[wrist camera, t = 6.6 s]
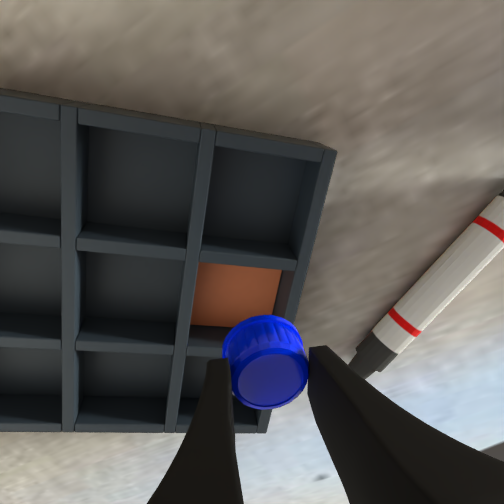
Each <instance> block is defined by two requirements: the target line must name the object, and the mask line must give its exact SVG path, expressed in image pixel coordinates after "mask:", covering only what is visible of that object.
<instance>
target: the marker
mask: <svg viewBox="0 0 504 504" xmlns="http://www.w3.org/2000/svg"><path fill="white" fill-rule="evenodd" d="M503 248H504V190H503V191H502V192H501V193H500V194H499V195H498V196H496V197H495V198H494V199H493V200H492V201H491V203H490V204H489V205H488V206H487V207H486V208H485V209H484V210H483V211H482V212H481V213H480V214H479V215H478V216H477V218H476V219H475V220H474V221H473V222H472V223H471V224H470V225H469V226H468V227H467V228H466V229H465V230H464V231H463V233H462V234H461V235H460V236H459V237H458V238H457V239H456V240H455V241H454V242H453V243H452V244H451V245H450V246H449V248H448V249H447V250H446V251H445V252H444V253H443V254H442V255H441V256H440V257H439V258H438V259H437V260H436V261H435V263H434V264H433V265H432V266H431V267H430V268H429V269H428V270H427V271H426V272H425V273H424V274H423V275H422V276H421V278H420V279H419V280H418V281H417V282H416V283H415V284H414V285H413V286H412V287H411V288H410V289H409V290H408V291H407V293H406V294H405V295H404V296H403V297H402V298H401V299H400V300H399V301H398V302H397V303H396V304H395V305H394V306H393V307H392V309H391V310H390V311H389V312H388V313H387V314H386V315H385V316H384V317H383V318H382V319H381V320H380V321H379V322H378V324H377V325H376V326H375V327H374V328H373V329H372V331H371V332H370V333H369V334H368V335H367V336H366V338H365V339H364V340H363V341H362V342H361V343H360V344H359V345H358V346H357V347H356V351H357V354H356V355H355V356H354V358H353V359H352V360H351V362H350V363H349V364H348V365H349V366H350V367H351V368H352V369H353V370H354V371H355V372H356V373H358V374H359V375H360V376H361V377H362V378H363V379H366V378H367V377H369V376H370V375H371V374H372V373H374V372H375V371H378V372H381V371H382V370H383V369H384V368H385V367H386V366H387V365H388V364H389V363H390V362H391V361H392V360H393V359H394V358H395V357H396V356H397V355H398V354H400V353H401V352H402V351H403V350H404V349H405V348H406V347H407V346H408V345H409V344H410V343H411V342H412V341H413V340H414V339H415V338H416V337H417V336H418V335H419V334H420V333H421V332H422V331H423V330H424V329H425V327H426V326H427V325H428V324H429V323H430V322H431V321H432V320H433V319H434V318H435V317H436V316H437V315H438V314H439V313H440V312H441V311H442V310H443V309H444V308H445V307H446V306H447V305H448V304H449V303H450V302H451V301H452V300H453V299H454V298H455V297H456V296H457V295H458V294H459V293H460V292H461V291H462V290H463V289H464V288H465V287H466V285H467V284H468V283H469V282H470V281H471V280H472V279H473V278H474V277H475V276H476V275H477V274H478V273H479V272H480V271H481V270H482V269H483V268H484V267H485V266H486V265H487V264H488V263H489V262H490V261H491V260H492V259H493V258H494V257H495V256H496V255H497V254H498V253H499V252H500V251H501V250H502V249H503Z"/></svg>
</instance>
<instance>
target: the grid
mask: <svg viewBox="0 0 504 504" xmlns="http://www.w3.org/2000/svg"><path fill="white" fill-rule="evenodd" d="M336 155H337V151H336V150H334V149H332V148H330V147H327V146H325V145H323V144H321V143H319V142H313V141H307V140H301V139H296V138H290V137H284V136H278V135H272V134H266V133H260V132H255V131H249V130H243V129H237V128H231V127H225V126H220V125H214V124H208V123H202V122H196V121H190V120H184V119H179V118H173V117H167V116H161V115H155V114H149V113H144V112H138V111H132V110H126V109H120V108H114V107H109V106H103V105H97V104H91V103H85V102H79V101H73V100H68V99H62V98H56V97H50V96H44V95H38V94H33V93H27V92H21V91H15V90H9V89H3V88H0V432H61V431H62V432H74V431H75V432H123V433H163V432H164V433H175V432H176V433H187V431H188V428H189V426H190V423H191V421H192V418H193V416H194V413H195V411H196V408H197V405H198V401H199V398H200V395H201V392H202V388H203V384H204V380H205V375H206V366H207V362H208V361H209V360H212V359H220V358H222V345H223V343H224V340H225V338H226V336H227V335H228V333H229V332H230V331H231V329H232V328H234V327H235V326H236V325H237V324H239V323H240V322H242V321H244V320H246V319H248V318H250V317H254V316H259V315H274V316H278V317H282V318H284V319H286V320H287V321H289V322H291V323H292V324H293V325H294V321H295V317H296V313H297V309H298V305H299V301H300V297H301V293H302V289H303V285H304V281H305V277H306V274H307V270H308V266H309V262H310V258H311V254H312V250H313V246H314V242H315V238H316V234H317V230H318V226H319V222H320V218H321V214H322V210H323V206H324V202H325V198H326V194H327V191H328V187H329V183H330V179H331V175H332V171H333V167H334V163H335V159H336ZM232 398H233V413H234V428H235V433H266V432H267V428H268V424H269V420H270V416H271V412H272V409H265V410H260V409H255V408H251V407H249V406H246V405H244V404H243V403H242V402H241V401H239V400H238V399H237V398H236V397H235V396H234V395H233V393H232Z"/></svg>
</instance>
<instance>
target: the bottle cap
mask: <svg viewBox="0 0 504 504" xmlns="http://www.w3.org/2000/svg"><path fill="white" fill-rule="evenodd" d="M222 358H228V360H229V365H230V370H231V383H232V393H233V395H234V396H235V397H236V398H237V399H238V400H239V401H241V402H242V403H243V404H244V405H246V406H249V407H251V408H255V409H260V410H265V409H274V408H278V407H281V406H284V405H286V404H288V403H290V402H291V401H293V400H294V399H295V398H297V397H298V396H299V394H300V393H301V392H302V391H303V389H304V388H305V386H306V384H307V380H308V375H309V361H308V358H307V356H306V354H305V351H304V349H303V344H302V339H301V337H300V335H299V333H298V331H297V329H296V328H295V327H294V325H293V324H292V323H291V322H289V321H287V320H286V319H284V318H282V317H278V316H274V315H259V316H254V317H250V318H248V319H246V320H244V321H242V322H240V323H239V324H237V325H236V326H235V327H234V328H232V329H231V331H230V332H229V333H228V335H227V336H226V338H225V340H224V343H223V345H222Z"/></svg>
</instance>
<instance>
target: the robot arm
mask: <svg viewBox="0 0 504 504" xmlns="http://www.w3.org/2000/svg"><path fill="white" fill-rule="evenodd" d="M307 394H308V397H309V401H310V404H311V408H312V411H313V414H314V418H315V421H316V424H317V426H318V428H319V431H320V433H321V435H322V438H323V440H324V442H325V445H326V447H327V449H328V452H329V454H330V456H331V459H332V461H333V463H334V466H335V468H336V470H337V472H338V475H339V477H340V479H341V482H342V484H343V487H344V489H345V492H346V494H347V497H348V500H349V503H350V504H504V462H503V461H500V460H498V459H495V458H493V457H491V456H488V455H486V454H484V453H482V452H480V451H478V450H476V449H473V448H471V447H469V446H467V445H465V444H463V443H461V442H459V441H457V440H455V439H453V438H451V437H449V436H448V435H446V434H444V433H442V432H440V431H438V430H437V429H435V428H433V427H431V426H430V425H428V424H426V423H424V422H423V421H421V420H420V419H418V418H416V417H415V416H413V415H412V414H410V413H409V412H407V411H406V410H404V409H403V408H401V407H400V406H398V405H397V404H395V403H394V402H393V401H391V400H390V399H389V398H387V397H386V396H385V395H383V394H382V393H381V392H379V391H378V390H377V389H375V388H374V387H373V386H372V385H371V384H369V383H368V382H367V381H366V380H365V379H363V378H362V377H361V376H360V375H359V374H358V373H356V372H355V371H354V370H353V369H352V368H351V367H350V366H349V365H347V364H346V363H345V362H344V361H343V360H342V359H341V358H340V357H339V356H338V355H336V354H335V353H334V352H333V351H332V350H331V349H330V348H329V347H328V346H326V345H325V346H317V347H309V375H308V393H307ZM147 504H244V502H243V496H242V490H241V484H240V478H239V471H238V465H237V458H236V452H235V428H234V413H233V398H232V383H231V370H230V365H229V360H228V358H220V359H212V360H209V361H208V362H207V366H206V375H205V380H204V384H203V388H202V392H201V395H200V398H199V401H198V405H197V408H196V411H195V413H194V416H193V418H192V421H191V423H190V426H189V428H188V431H187V433H186V435H185V438H184V440H183V442H182V444H181V446H180V448H179V450H178V452H177V454H176V456H175V458H174V460H173V462H172V463H171V465H170V467H169V469H168V471H167V472H166V474H165V476H164V478H163V479H162V481H161V483H160V484H159V486H158V488H157V489H156V491H155V492H154V494H153V495H152V497H151V498H150V500H149V501H148V503H147Z"/></svg>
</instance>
